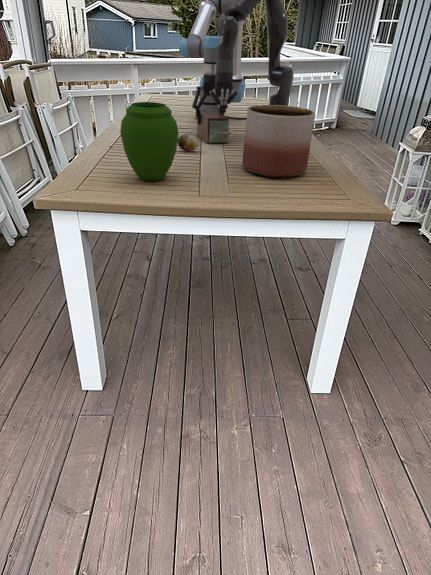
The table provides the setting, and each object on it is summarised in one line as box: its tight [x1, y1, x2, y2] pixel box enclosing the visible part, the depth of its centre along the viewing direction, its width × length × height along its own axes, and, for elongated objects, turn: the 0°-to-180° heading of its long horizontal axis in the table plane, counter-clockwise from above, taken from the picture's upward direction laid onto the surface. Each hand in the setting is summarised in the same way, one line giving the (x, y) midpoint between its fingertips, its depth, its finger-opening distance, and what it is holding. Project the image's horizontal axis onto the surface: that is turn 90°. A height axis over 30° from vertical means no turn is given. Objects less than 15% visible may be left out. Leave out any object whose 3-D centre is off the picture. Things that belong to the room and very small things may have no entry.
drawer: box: [209, 120, 232, 142], centre depth 197 cm, size 22×9×10 cm, turn 19°
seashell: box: [177, 131, 200, 152], centre depth 179 cm, size 10×6×8 cm, turn 97°
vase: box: [119, 101, 179, 182], centre depth 140 cm, size 20×20×24 cm
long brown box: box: [196, 112, 230, 145], centre depth 201 cm, size 17×10×11 cm, turn 19°
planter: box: [242, 104, 316, 179], centre depth 156 cm, size 25×25×22 cm
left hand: (209, 123), depth 205 cm, fingers closed on long brown box, 10 cm apart
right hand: (222, 113), depth 186 cm, fingers closed
